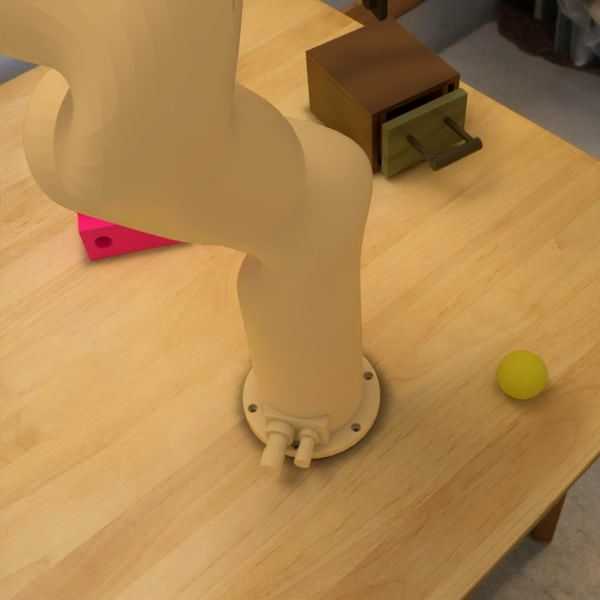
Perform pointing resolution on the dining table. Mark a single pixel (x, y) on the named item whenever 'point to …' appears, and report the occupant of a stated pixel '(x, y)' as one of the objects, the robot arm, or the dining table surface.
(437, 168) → the drawer
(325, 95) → the cabinet
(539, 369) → the yellow ball
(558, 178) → the dining table surface
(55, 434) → the dining table surface
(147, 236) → the toy block
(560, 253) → the dining table surface
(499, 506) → the dining table surface
